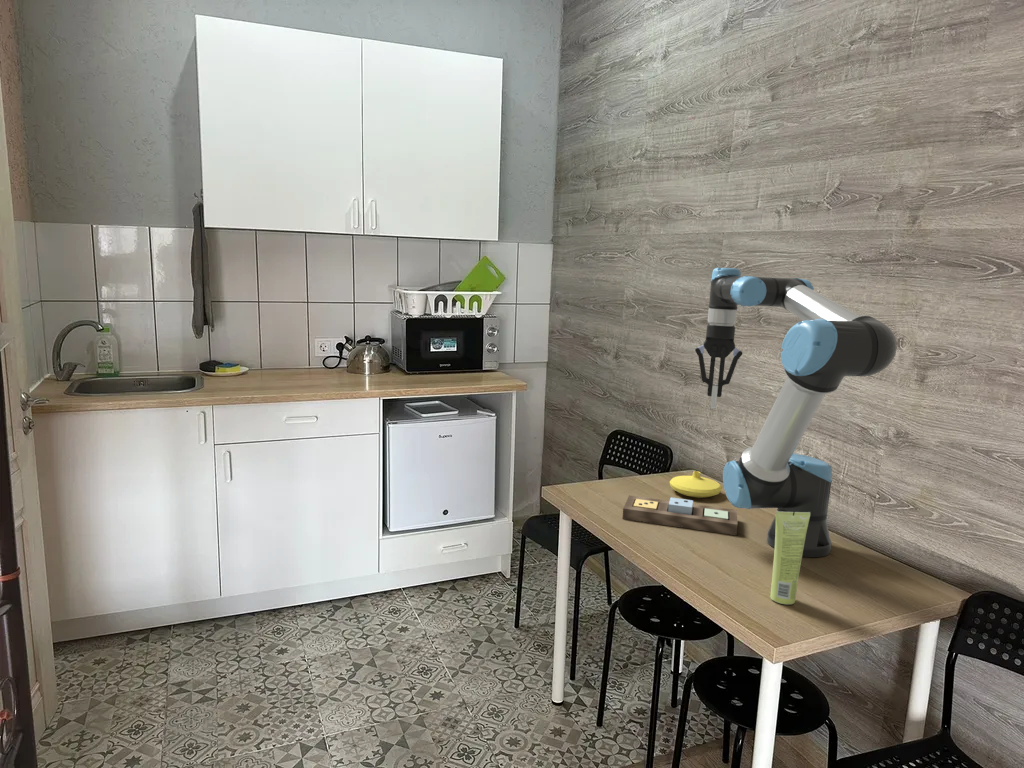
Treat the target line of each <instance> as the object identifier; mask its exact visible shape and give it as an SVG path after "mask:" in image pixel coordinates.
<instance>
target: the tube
mask: <svg viewBox="0 0 1024 768" xmlns="http://www.w3.org/2000/svg"><path fill="white" fill-rule="evenodd" d="M775 516H776V530H775V548H773V549H774V552H773V562H772V575H771V585H770V595H769V596H770V599H771V600H772V601H773V602H775V603H778V604H781V605H786V606H787V605H788V606H789V605H793V604H795V603H796V597H797V591H798V586H799V585H798V584H799V577H800V576H799V575H800V571H801V566H802V564H801V563H802V560H803V559H802V558H803V556H802V554H803V548H804V543H805V537H806V532H807V527H808V523H809V519H810V512H779V511H777V510H776V511H775Z"/></svg>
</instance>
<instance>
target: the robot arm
mask: <svg viewBox="0 0 1024 768" xmlns="http://www.w3.org/2000/svg"><path fill="white" fill-rule="evenodd" d="M741 273H742V272H741V269H739V268H734V267H732V268H731V267H730V268H729V267H715V268H714V269H713V270H712V274H711V280H710V289H709V291H710V292H709V302H708V312H707V325H706V334H705V340H704V341H703V344H702V345H700V346H698V347H696V348H695V349H694V351H695V353H696V354H697V356H698V363H699V369H700V375H701V381H702V382H703V383H705V384H706V385H707V397H711V399H710V407H709V409H712V410H716V409H717V401H718V400H717V399H718V398H721V397H722V393H723V387H724V386H725V385H729V384H730V382H731V380H732V377H733V375H734V372H735V369H736V366H737V364H738V360H739V359H740V358H741V357H742V355H743V351H742V350H740V349H738V347H736V344H735V335H736V334H735V333H736V327H735V326H734V325H735V324H736V323H737V313H738V306H740V307H754V306H755V307H772V308H773V307H777V308H778V307H779V308H783V309H785V310H786V311H788V312H790V313H791V314H792V315H794V316H796V317H798V319H800V320H801V321H798V322H797V323H795V324H794V325H793V326H791V328H789V330H788V331H787V333H786V334H785V336H784V338H783V340H782V342H781V343H782V344H781V349H782V351H781V352H780V359H781V364H782V366H783V371H784V374H785V376H786V378H785V380H784V383H783V385H782V387H781V389H780V391H779V393H778V395H777V397H776V399H775V401H774V403H773V405H772V406H771V409H770V411H769V413H768V415H767V417H766V419H765V421H764V424H763V425H762V427H761V429H760V432H759V433H758V435H757V438H756V440H755V441H754V444H753V446H749V447H746V449H744V450H743V451H742V453H741V455H740V458H739V459H738V460H731V461H728V462H726V463H725V464H724V468H723V471H722V483H723V490H724V493H725V495H726V498H727V500H728V501H729V503H730V504H731V505H732V506H733V507H734V508H737V509H745V510H746V509H747V510H751V509H752V510H753V509H776V511H779V512H810V519H809V523H808V527H807V532H806V537H805V543H804V548H803V554H802V558H803V557H804V558H821V557H826V556H828V555H830V554H831V548H832V540H831V536H830V531H829V526H828V523H827V519H828V512H829V511H828V510H829V503H830V495H831V494H830V493H831V488H832V483H833V468H832V466H831V465H830V464H829V463H828V462H826V461H824V460H822V459H818V458H816V457H812V456H808V455H804V454H799V453H794V452H795V451H796V449H797V447H798V445H799V444H800V441H802V437H803V436H804V434H805V432H806V431H807V429H808V427H809V425H810V423H811V421H812V419H813V418H814V416H815V414H816V411H817V410H818V408H819V407H820V404H822V401H823V399H824V398H825V396H826V395H827V394H831V393H833V392H835V391H837V389H838V388H839V386H840V384H841V383H842V380H843V379H844V378H845V377H870V376H873V375H875V374H879V373H881V372H883V370H885V369H886V368H887V367H889V366H890V364H891V363H892V362H893V360H894V359H895V356H896V353H897V346H898V343H897V339H896V336H895V334H894V332H893V331H892V329H891V328H890V327H889V326H888V325H886V324H885V323H884V322H882V321H880V320H879V319H876V318H875V317H872V316H871V315H859V314H857V313H855V312H853V311H852V310H850V309H848V308H846V307H845V306H843V305H841V304H839V303H837V302H836V301H834V300H832V299H831V298H830V299H829V298H828V297H826V296H824V295H823V294H821V293H819V292H817V291H815V290H814V286H813V285H812V282H811V281H810V280H808V279H804V278H798V277H790V278H789V277H788V278H787V277H769V276H768V277H767V276H766V277H765V276H753V275H742V274H741ZM708 323H709V324H708ZM705 350H706V353H707V354H708V355H709V357H710V364H709V375H708V377H707V373H706V365H705V359H704V353H705ZM731 353H732V356H733V358H732V360H731V363H730V365H729V368H728V372H727V373H726V377H725V379H724V374H725V363H726V358H727V357H729V355H730V354H731ZM716 358H718V359H719V358H720V360H719V371H718V379H717V384H714V375H715V365H716ZM775 530H776V515H775V516H774V518H773V520H772V522H771V524H770V526H769V528H768V530H767V536H766V542H767V543H768V545H770V546H771V547H772V548H773V549H775Z"/></svg>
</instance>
